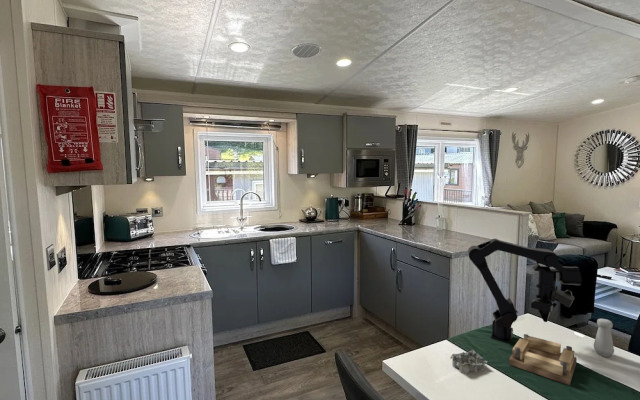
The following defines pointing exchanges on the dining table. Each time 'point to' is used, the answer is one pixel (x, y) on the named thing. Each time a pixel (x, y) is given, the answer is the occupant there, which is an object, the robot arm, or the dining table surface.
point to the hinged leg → (543, 344)
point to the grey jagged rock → (468, 357)
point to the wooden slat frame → (544, 361)
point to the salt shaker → (604, 338)
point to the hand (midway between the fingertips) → (545, 321)
